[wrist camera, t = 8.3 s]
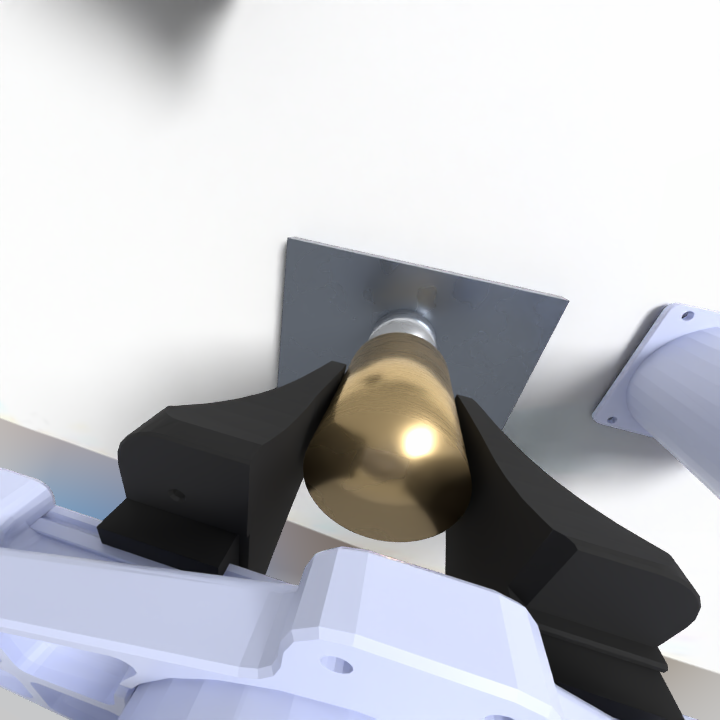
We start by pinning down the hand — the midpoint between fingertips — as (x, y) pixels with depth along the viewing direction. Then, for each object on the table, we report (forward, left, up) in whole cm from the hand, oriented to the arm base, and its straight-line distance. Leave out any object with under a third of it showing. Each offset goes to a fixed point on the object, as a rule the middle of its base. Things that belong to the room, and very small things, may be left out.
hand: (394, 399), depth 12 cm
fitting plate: (0, +5, -8) cm, 10 cm away
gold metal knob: (0, 0, -2) cm, 2 cm away
